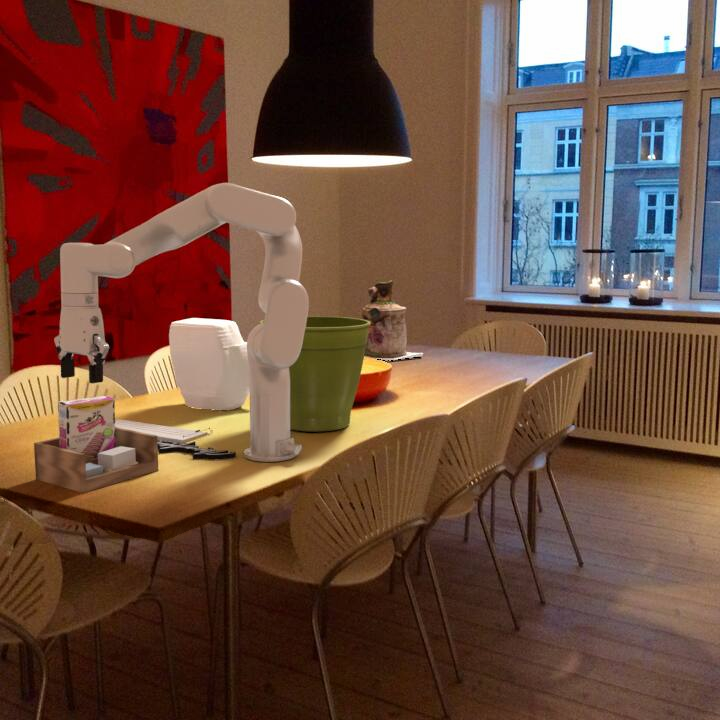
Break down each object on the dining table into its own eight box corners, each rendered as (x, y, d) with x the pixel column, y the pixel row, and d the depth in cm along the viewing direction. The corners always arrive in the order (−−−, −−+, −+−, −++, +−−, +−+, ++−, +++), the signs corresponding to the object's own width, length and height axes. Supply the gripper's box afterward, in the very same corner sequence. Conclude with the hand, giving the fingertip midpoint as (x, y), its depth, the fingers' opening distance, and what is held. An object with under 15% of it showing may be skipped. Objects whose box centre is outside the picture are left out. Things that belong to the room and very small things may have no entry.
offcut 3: (138, 475, 189) (138, 462, 188) (109, 484, 182) (108, 470, 182) (125, 471, 191) (124, 458, 191) (95, 480, 185) (95, 467, 184)
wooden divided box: (158, 470, 191) (157, 435, 190) (82, 493, 175) (81, 454, 174) (111, 459, 200) (110, 425, 199) (35, 479, 184) (33, 443, 183)
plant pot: (322, 444, 215) (322, 330, 211) (238, 427, 233) (236, 321, 228) (391, 423, 238) (392, 320, 234) (309, 409, 256) (309, 313, 252)
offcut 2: (135, 461, 189) (135, 448, 188) (113, 469, 182) (112, 455, 182) (121, 459, 191) (120, 446, 190) (98, 466, 184) (97, 453, 184)
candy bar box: (69, 480, 184) (66, 405, 181) (59, 475, 188) (56, 401, 185) (118, 470, 191) (115, 398, 189) (107, 465, 195) (104, 394, 193)
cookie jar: (389, 351, 375) (390, 277, 370) (425, 358, 355) (426, 281, 350) (342, 356, 361) (342, 279, 356) (377, 363, 341) (377, 283, 336)
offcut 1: (103, 484, 181) (103, 466, 181) (86, 489, 178) (85, 470, 177) (90, 480, 184) (89, 462, 183) (73, 485, 180) (72, 467, 180)
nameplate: (245, 448, 206) (221, 458, 197) (245, 454, 207) (221, 464, 198) (154, 435, 218) (128, 444, 209) (155, 441, 218) (128, 450, 210)
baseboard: (126, 422, 240) (94, 431, 230) (125, 412, 240) (93, 421, 230) (213, 435, 226) (183, 446, 215) (213, 424, 225) (183, 434, 215)
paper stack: (202, 396, 274) (201, 316, 270) (271, 406, 260) (270, 321, 256) (155, 408, 256) (152, 322, 252) (225, 419, 242) (223, 328, 238)
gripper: (120, 302, 182) (121, 382, 184) (69, 297, 192) (71, 373, 194) (91, 304, 176) (92, 387, 178) (40, 299, 186) (42, 377, 188)
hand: (81, 379), depth 186 cm, fingers open, 9 cm apart
